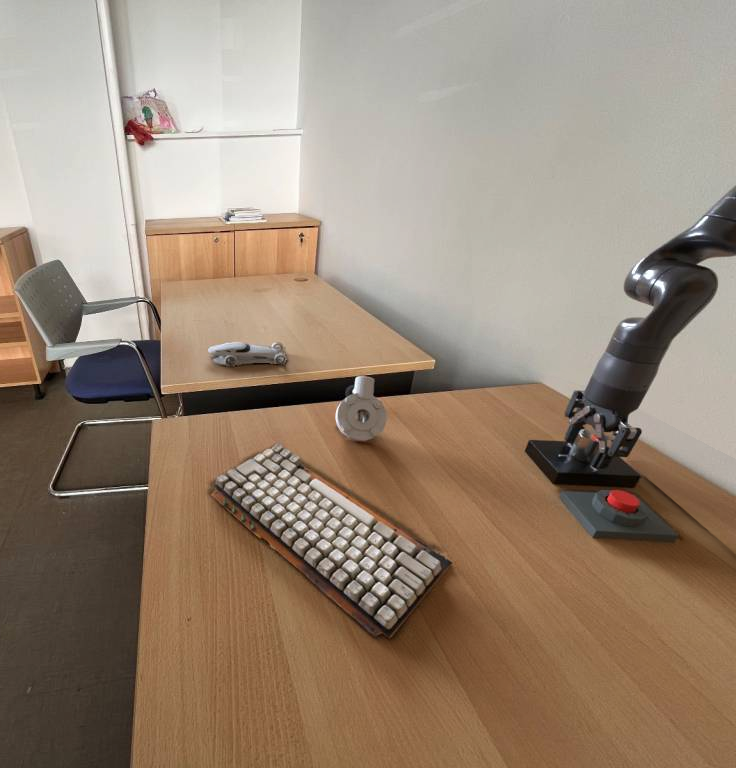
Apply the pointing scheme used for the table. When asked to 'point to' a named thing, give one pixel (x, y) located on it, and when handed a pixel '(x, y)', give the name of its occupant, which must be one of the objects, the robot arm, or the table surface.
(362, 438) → the mechanical valve
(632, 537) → the button box
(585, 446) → the knob
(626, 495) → the button
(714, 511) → the table surface
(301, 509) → the mechanical keyboard
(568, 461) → the panel
